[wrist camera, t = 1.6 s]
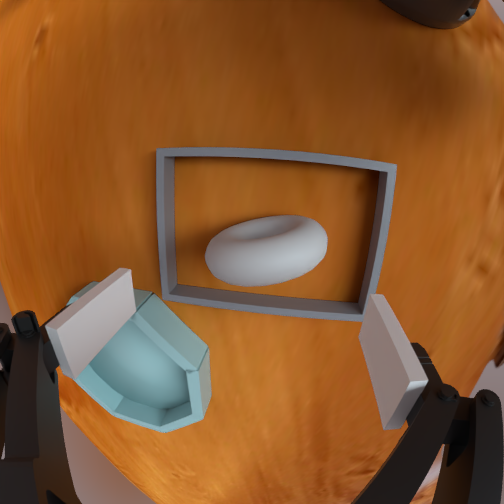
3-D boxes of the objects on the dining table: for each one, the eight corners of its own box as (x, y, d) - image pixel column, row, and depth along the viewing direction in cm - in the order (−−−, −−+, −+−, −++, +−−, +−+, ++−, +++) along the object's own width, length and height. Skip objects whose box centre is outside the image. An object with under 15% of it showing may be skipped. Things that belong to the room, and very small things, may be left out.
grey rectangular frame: (388, 163, 24) (396, 164, 22) (363, 309, 29) (367, 321, 27) (167, 148, 27) (156, 148, 24) (171, 289, 32) (162, 299, 30)
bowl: (207, 300, 32) (194, 321, 27) (213, 422, 39) (206, 443, 35) (59, 274, 34) (39, 286, 30) (94, 387, 42) (82, 403, 38)
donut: (225, 254, 29) (194, 301, 20) (218, 221, 28) (181, 255, 19) (324, 240, 27) (337, 285, 18) (319, 206, 26) (332, 234, 17)
